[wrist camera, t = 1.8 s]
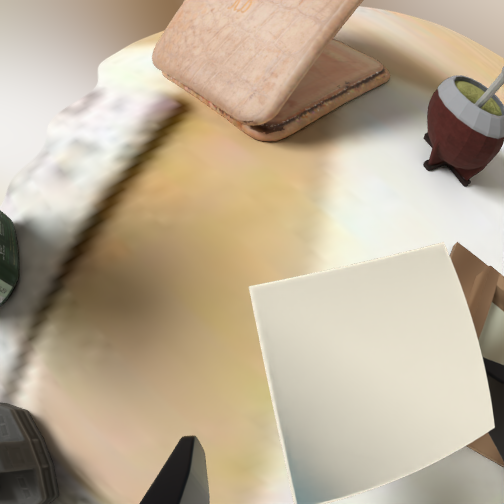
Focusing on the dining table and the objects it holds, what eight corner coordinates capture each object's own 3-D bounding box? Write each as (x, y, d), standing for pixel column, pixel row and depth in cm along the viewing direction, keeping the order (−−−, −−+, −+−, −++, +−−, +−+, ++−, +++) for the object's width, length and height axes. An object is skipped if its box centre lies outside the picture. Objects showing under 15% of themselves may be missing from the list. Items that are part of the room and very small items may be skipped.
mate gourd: (443, 128, 25) (491, 6, 11) (493, 187, 21) (569, 68, 8) (394, 141, 24) (440, -10, 10) (449, 211, 20) (543, 60, 7)
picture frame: (556, 334, 15) (574, 326, 13) (506, 468, 11) (526, 472, 9) (453, 245, 19) (469, 229, 17) (380, 392, 16) (395, 391, 13)
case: (151, 76, 31) (116, -35, 17) (278, 24, 36) (275, -68, 22) (259, 161, 24) (244, -39, 10) (397, 82, 29) (424, -35, 14)
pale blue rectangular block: (348, 408, 15) (495, 427, 4) (279, 425, 15) (295, 510, 4) (333, 342, 17) (443, 241, 5) (265, 358, 17) (248, 286, 5)
